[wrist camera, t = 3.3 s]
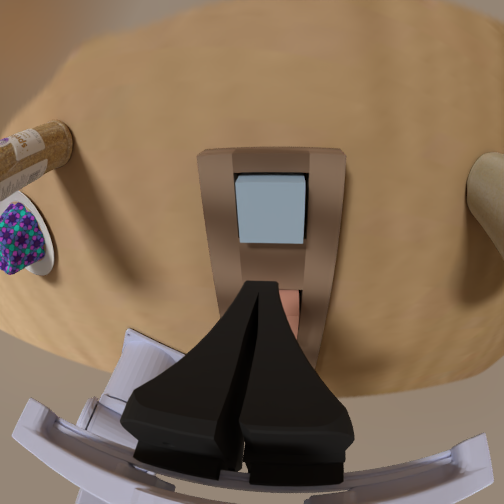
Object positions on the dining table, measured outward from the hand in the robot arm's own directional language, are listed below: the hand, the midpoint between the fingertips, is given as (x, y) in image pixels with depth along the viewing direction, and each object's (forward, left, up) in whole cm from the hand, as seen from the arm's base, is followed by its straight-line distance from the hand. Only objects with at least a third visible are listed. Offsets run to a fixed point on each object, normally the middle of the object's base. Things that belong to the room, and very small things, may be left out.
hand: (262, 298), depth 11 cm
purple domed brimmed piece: (-16, +24, -10) cm, 31 cm away
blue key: (+1, 0, -9) cm, 9 cm away
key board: (-7, -4, -9) cm, 12 cm away
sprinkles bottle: (-3, +19, -10) cm, 22 cm away
